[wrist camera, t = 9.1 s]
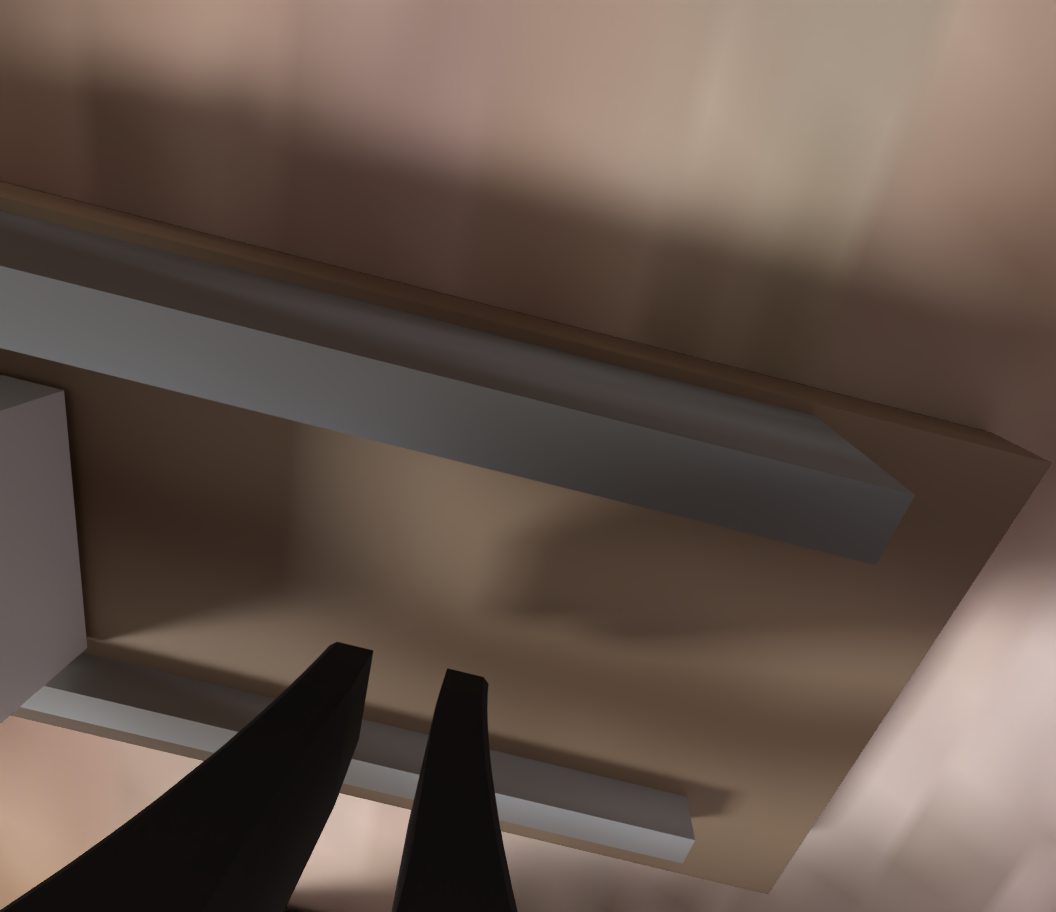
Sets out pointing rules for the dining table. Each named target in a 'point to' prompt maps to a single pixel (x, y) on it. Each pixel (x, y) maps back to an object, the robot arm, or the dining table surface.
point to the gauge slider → (36, 543)
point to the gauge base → (485, 535)
